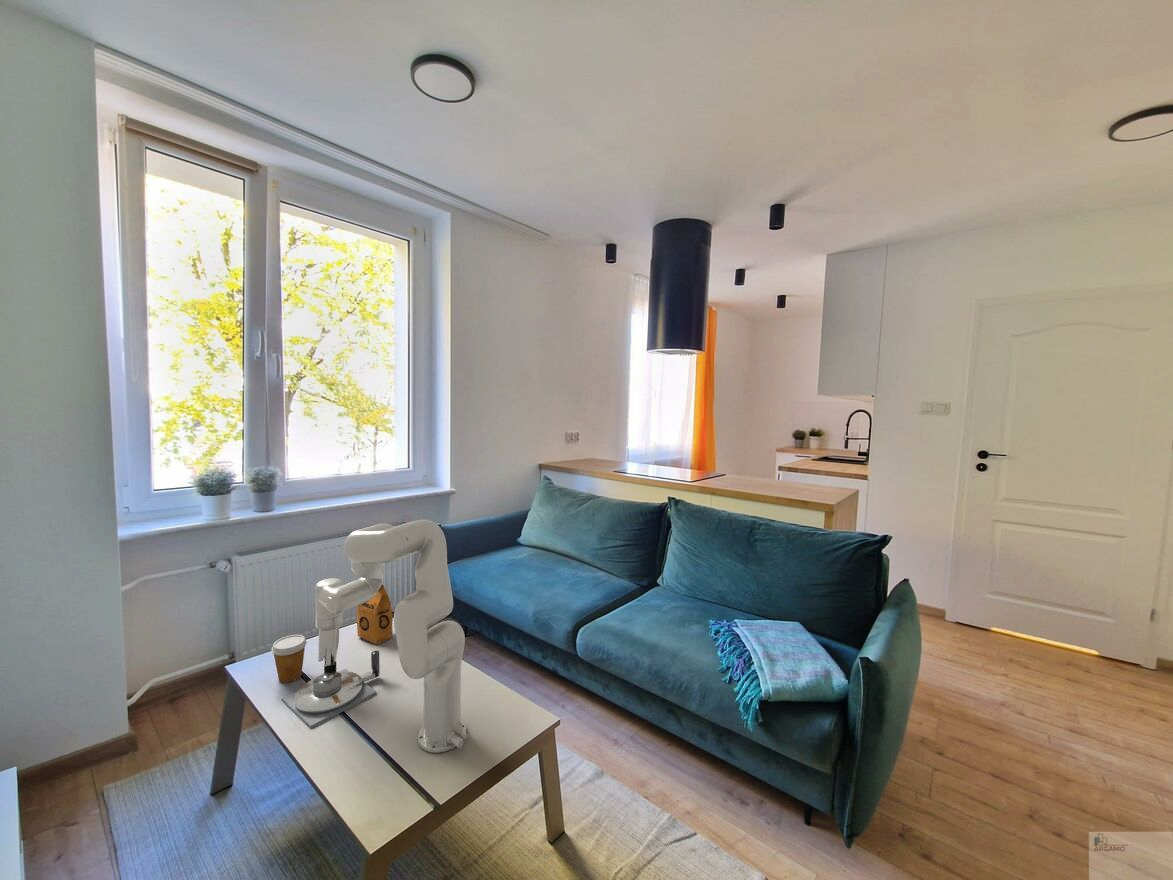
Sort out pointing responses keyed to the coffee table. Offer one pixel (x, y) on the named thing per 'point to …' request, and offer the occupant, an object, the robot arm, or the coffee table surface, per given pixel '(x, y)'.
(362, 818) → the coffee table surface
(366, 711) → the coffee table surface
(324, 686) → the cover
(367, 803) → the coffee table surface
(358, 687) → the turntable
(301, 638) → the disposable coffee cup
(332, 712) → the plinth
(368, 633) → the coffee package
